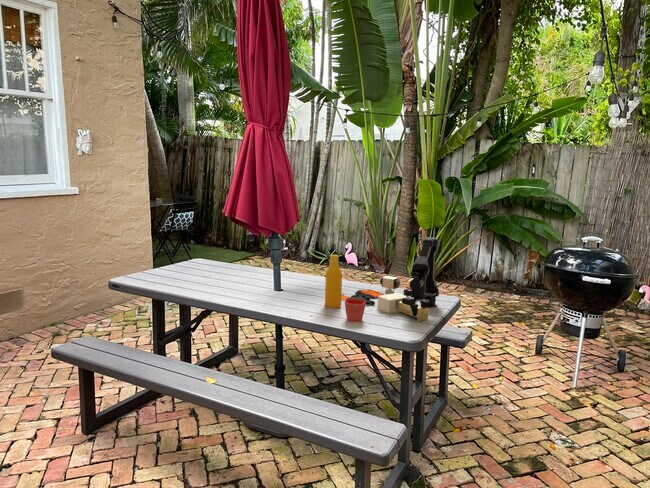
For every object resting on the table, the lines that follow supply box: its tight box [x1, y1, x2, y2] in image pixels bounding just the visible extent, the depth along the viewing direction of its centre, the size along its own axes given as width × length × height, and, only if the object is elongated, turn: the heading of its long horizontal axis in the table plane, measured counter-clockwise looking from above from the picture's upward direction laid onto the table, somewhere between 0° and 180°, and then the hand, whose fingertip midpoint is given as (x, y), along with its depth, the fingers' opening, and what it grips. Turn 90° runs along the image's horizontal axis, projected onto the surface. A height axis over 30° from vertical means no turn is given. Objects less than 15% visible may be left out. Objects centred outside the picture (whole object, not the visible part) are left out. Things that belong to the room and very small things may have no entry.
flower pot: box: [344, 299, 367, 323], centre depth 238 cm, size 11×11×10 cm
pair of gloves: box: [341, 289, 386, 306], centre depth 279 cm, size 27×24×3 cm
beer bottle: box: [324, 254, 343, 309], centre depth 260 cm, size 9×9×29 cm
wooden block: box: [398, 301, 430, 322], centre depth 246 cm, size 6×17×6 cm, turn 33°
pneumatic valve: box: [379, 275, 401, 295], centre depth 289 cm, size 6×12×12 cm, turn 51°
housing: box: [377, 292, 406, 314], centre depth 258 cm, size 14×10×7 cm
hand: (418, 315), depth 242 cm, fingers closed on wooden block, 5 cm apart
